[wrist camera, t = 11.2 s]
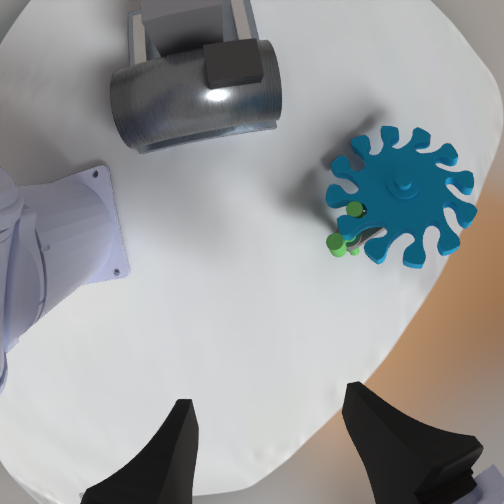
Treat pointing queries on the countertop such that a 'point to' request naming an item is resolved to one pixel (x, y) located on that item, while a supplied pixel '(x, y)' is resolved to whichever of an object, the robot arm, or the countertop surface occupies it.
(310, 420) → the countertop surface
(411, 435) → the robot arm
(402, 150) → the gear
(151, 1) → the grey knobbed block
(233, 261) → the countertop surface
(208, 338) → the countertop surface
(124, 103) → the motor mount
